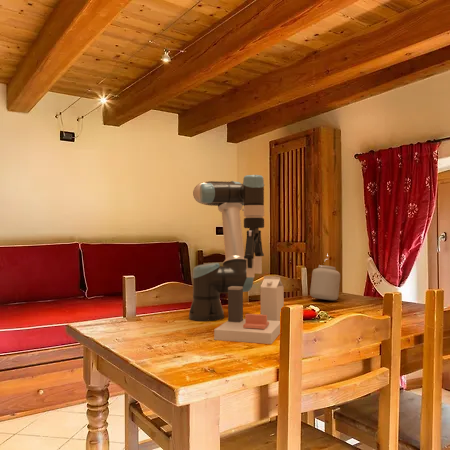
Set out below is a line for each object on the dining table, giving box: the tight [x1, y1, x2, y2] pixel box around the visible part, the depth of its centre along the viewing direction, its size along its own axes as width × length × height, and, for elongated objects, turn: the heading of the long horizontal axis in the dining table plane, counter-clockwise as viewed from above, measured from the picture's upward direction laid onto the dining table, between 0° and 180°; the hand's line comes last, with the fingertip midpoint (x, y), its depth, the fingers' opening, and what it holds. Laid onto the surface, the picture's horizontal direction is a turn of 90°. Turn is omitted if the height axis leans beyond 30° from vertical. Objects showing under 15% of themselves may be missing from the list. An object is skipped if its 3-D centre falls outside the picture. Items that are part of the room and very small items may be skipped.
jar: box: [309, 254, 341, 301], centre depth 229 cm, size 19×15×25 cm
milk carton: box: [259, 275, 285, 321], centre depth 173 cm, size 7×7×19 cm
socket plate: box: [213, 318, 281, 345], centre depth 154 cm, size 20×20×4 cm
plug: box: [227, 286, 244, 322], centre depth 162 cm, size 4×4×13 cm
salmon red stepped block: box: [243, 313, 269, 329], centre depth 151 cm, size 8×8×4 cm
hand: (254, 275), depth 156 cm, fingers open, 13 cm apart
